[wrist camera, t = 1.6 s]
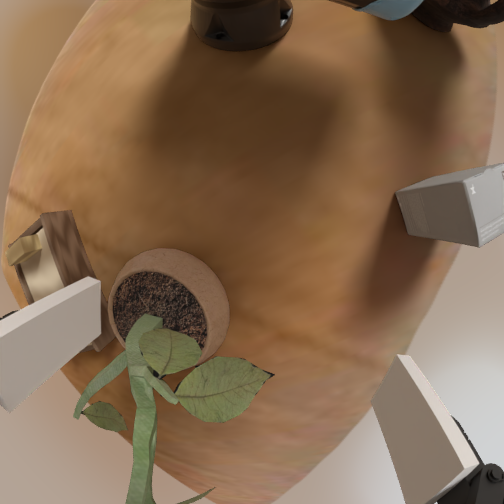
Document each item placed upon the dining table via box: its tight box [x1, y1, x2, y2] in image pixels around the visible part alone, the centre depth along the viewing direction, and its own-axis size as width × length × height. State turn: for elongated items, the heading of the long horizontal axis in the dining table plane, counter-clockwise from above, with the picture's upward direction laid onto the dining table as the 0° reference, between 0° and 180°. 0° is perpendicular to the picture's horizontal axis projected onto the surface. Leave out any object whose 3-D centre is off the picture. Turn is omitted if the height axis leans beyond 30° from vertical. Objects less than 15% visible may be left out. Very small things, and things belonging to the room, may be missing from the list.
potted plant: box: [73, 248, 275, 504], centre depth 23 cm, size 23×18×30 cm
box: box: [8, 210, 116, 353], centre depth 36 cm, size 22×13×7 cm, turn 22°
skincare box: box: [395, 163, 504, 248], centre depth 24 cm, size 8×7×16 cm
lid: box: [5, 228, 92, 346], centre depth 32 cm, size 19×10×5 cm, turn 22°
